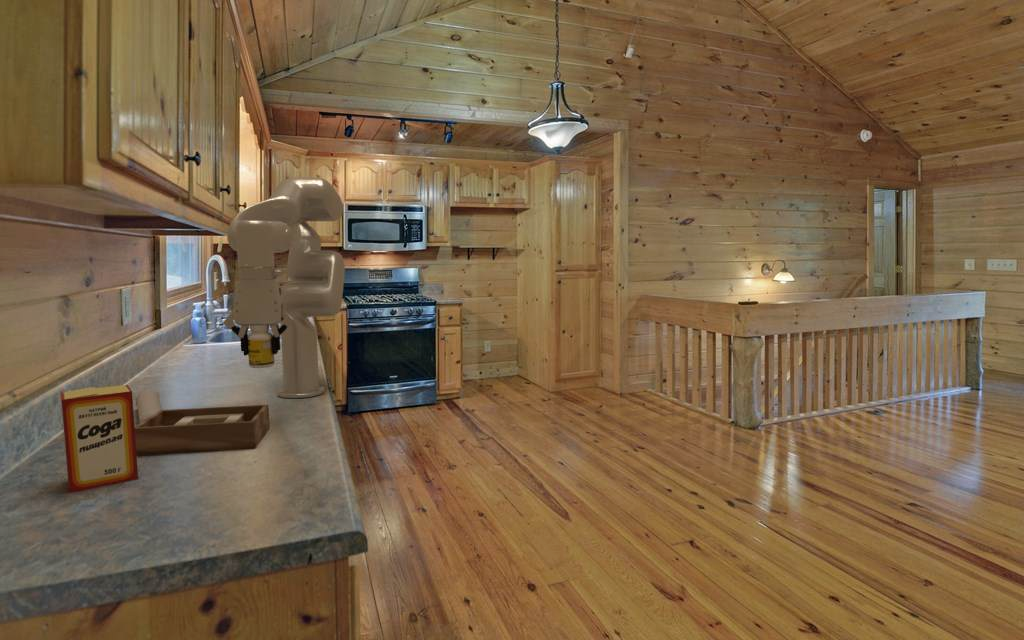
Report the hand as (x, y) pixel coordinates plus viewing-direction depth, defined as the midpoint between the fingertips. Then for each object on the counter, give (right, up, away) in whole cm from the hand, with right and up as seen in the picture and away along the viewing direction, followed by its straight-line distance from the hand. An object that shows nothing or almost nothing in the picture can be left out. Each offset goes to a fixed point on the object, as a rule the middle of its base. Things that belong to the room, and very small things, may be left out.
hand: (261, 353), depth 130 cm
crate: (-6, -18, -11) cm, 22 cm away
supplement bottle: (0, -3, 0) cm, 3 cm away
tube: (-29, -17, +5) cm, 34 cm away
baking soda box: (-13, -20, -32) cm, 40 cm away
